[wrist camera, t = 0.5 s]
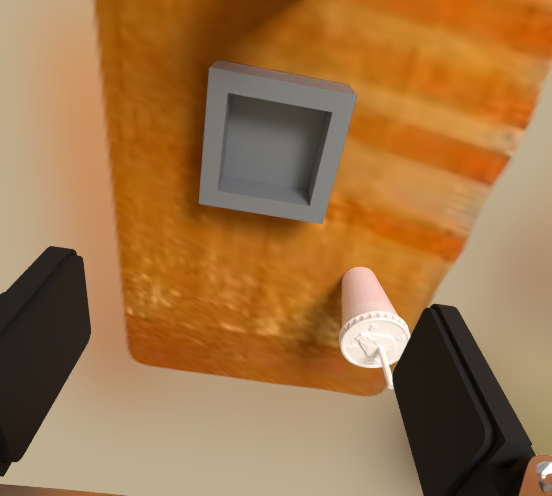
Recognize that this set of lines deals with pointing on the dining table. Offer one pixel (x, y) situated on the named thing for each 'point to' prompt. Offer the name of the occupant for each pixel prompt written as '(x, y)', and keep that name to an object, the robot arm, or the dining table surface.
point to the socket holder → (272, 141)
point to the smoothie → (370, 323)
